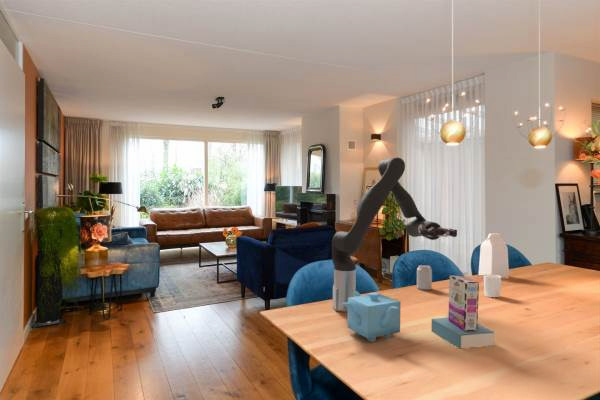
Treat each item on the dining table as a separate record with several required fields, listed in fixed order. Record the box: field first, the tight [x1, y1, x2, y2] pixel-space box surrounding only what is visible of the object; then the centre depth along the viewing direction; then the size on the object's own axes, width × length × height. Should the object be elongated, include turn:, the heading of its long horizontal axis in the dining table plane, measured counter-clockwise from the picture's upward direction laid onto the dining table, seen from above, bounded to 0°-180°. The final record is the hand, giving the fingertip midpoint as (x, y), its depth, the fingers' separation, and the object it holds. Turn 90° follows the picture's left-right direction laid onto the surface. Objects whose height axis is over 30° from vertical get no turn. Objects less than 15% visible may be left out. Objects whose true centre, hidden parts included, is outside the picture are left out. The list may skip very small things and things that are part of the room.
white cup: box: [483, 274, 502, 299], centre depth 190 cm, size 8×8×10 cm
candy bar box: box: [447, 275, 480, 331], centre depth 134 cm, size 11×5×16 cm, turn 7°
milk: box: [478, 232, 510, 277], centre depth 234 cm, size 12×12×26 cm
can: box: [416, 264, 433, 291], centre depth 203 cm, size 8×8×12 cm
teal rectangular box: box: [431, 317, 495, 349], centre depth 135 cm, size 13×16×5 cm
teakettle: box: [341, 290, 401, 343], centre depth 137 cm, size 19×19×15 cm
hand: (444, 234), depth 153 cm, fingers open, 8 cm apart
